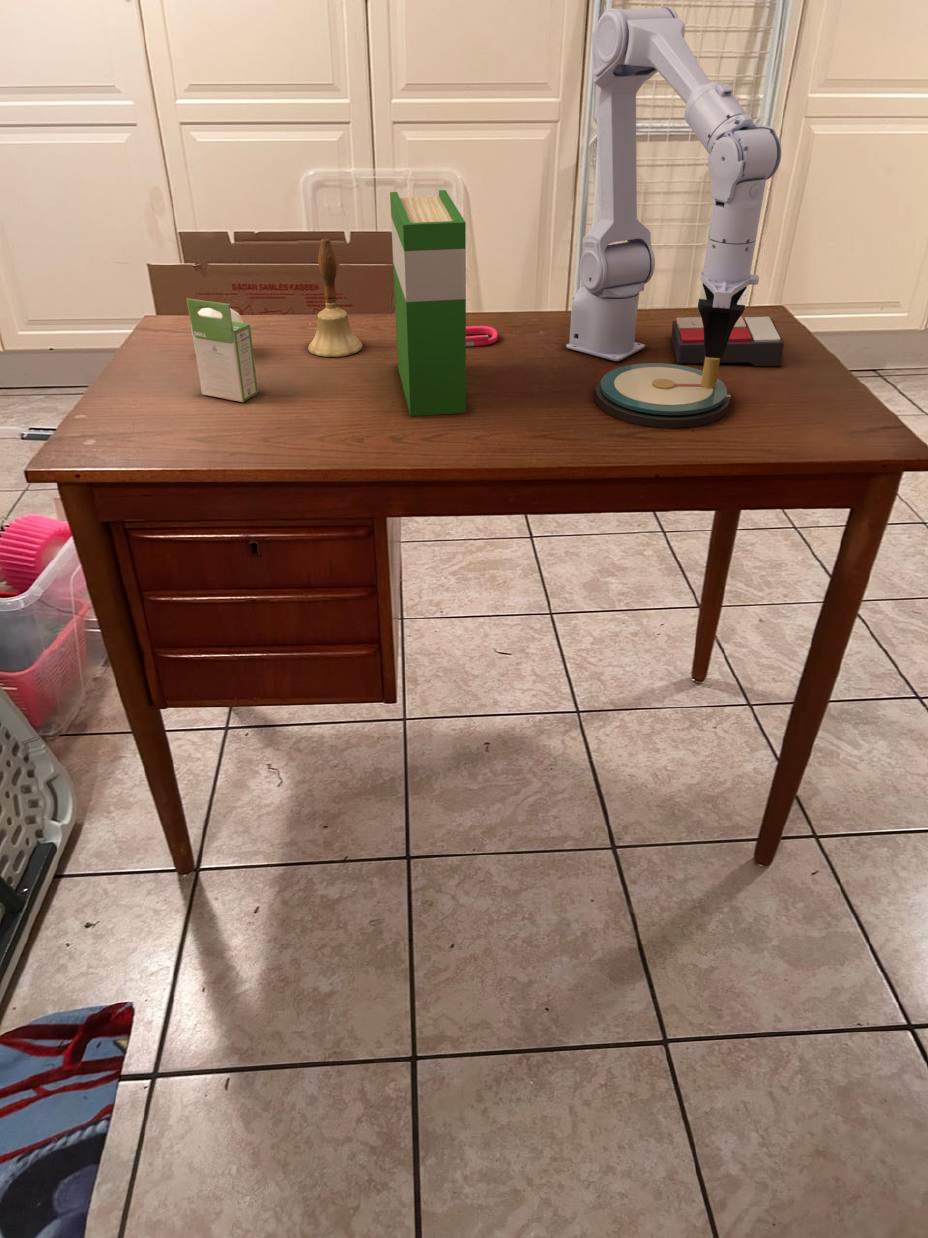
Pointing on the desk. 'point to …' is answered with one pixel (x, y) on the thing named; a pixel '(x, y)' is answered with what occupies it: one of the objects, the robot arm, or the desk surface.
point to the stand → (660, 420)
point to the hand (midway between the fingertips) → (715, 346)
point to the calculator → (730, 342)
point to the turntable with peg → (665, 388)
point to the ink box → (223, 353)
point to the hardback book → (430, 302)
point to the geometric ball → (214, 313)
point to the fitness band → (480, 339)
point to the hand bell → (332, 314)
